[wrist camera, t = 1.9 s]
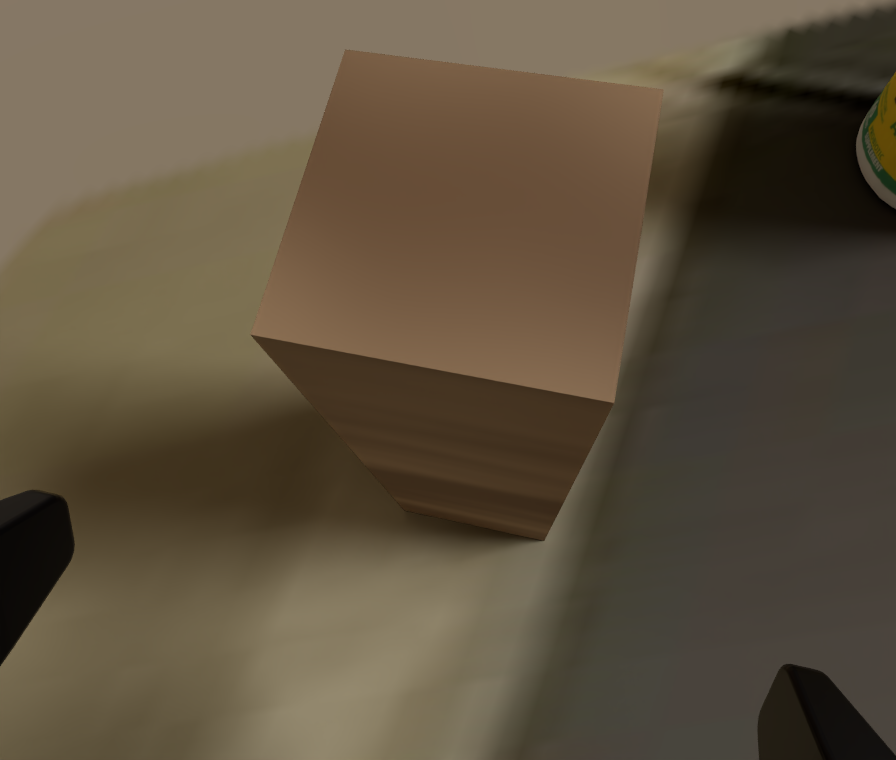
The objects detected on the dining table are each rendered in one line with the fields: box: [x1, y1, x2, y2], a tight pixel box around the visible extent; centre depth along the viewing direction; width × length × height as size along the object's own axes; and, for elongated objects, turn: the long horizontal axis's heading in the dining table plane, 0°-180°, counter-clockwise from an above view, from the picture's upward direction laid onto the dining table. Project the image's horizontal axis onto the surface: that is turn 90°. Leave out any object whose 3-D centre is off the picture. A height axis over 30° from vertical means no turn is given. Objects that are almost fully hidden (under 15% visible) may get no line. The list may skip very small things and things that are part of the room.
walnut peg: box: [250, 50, 664, 541], centre depth 14 cm, size 4×4×13 cm
